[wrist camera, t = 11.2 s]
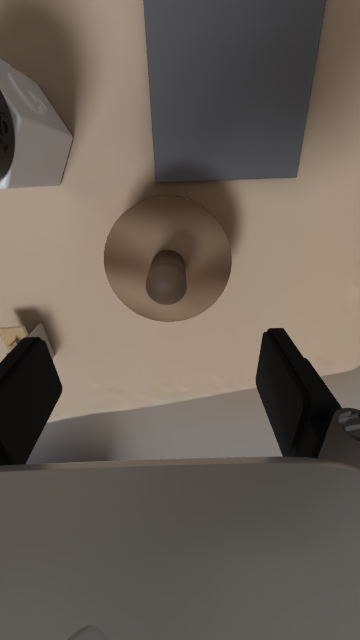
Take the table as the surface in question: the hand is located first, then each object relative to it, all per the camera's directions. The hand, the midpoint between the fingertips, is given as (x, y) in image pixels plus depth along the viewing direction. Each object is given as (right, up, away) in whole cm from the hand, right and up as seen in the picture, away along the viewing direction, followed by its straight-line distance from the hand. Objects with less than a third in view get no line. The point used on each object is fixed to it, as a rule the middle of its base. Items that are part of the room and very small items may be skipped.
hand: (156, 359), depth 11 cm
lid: (0, +7, +14) cm, 16 cm away
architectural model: (-18, -1, +25) cm, 31 cm away
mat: (+5, +22, +11) cm, 25 cm away
